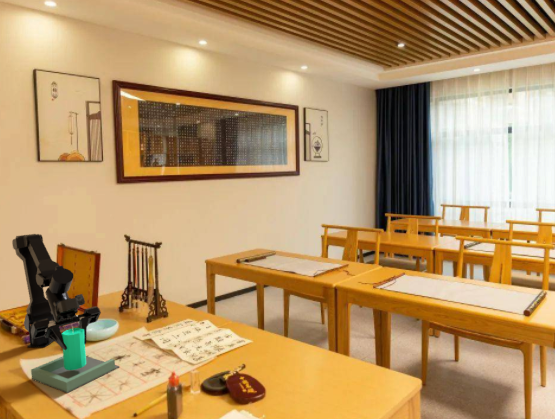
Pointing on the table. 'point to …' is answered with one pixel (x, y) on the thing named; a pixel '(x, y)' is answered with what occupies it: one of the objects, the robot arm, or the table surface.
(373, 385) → the table surface
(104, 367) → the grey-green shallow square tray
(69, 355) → the candle
